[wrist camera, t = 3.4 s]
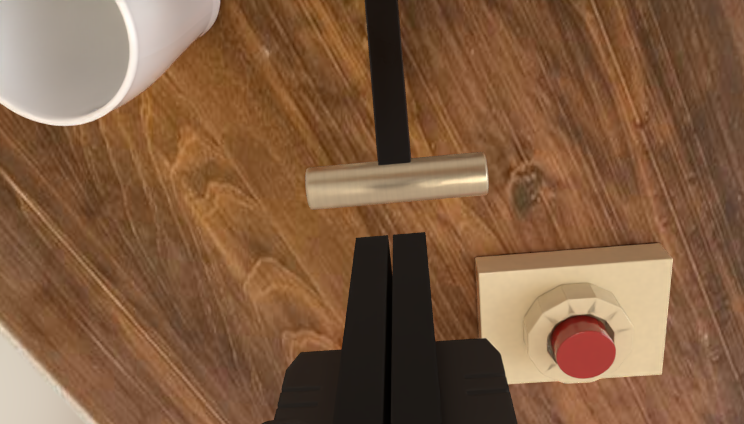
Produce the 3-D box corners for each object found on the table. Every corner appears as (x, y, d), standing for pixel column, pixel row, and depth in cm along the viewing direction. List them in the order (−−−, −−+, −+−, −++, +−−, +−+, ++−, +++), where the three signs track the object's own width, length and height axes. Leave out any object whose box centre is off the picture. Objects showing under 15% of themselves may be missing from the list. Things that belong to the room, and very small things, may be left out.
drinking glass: (259, 15, 37) (176, 72, 23) (166, 74, 38) (38, 160, 25) (187, -99, 34) (48, -110, 21) (92, -31, 36) (-95, 1, 22)
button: (609, 312, 40) (617, 329, 38) (606, 359, 41) (615, 377, 40) (550, 316, 40) (556, 333, 39) (549, 363, 42) (556, 381, 40)
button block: (660, 242, 42) (685, 273, 38) (650, 354, 45) (672, 392, 42) (474, 256, 43) (481, 288, 39) (480, 366, 46) (487, 404, 43)
